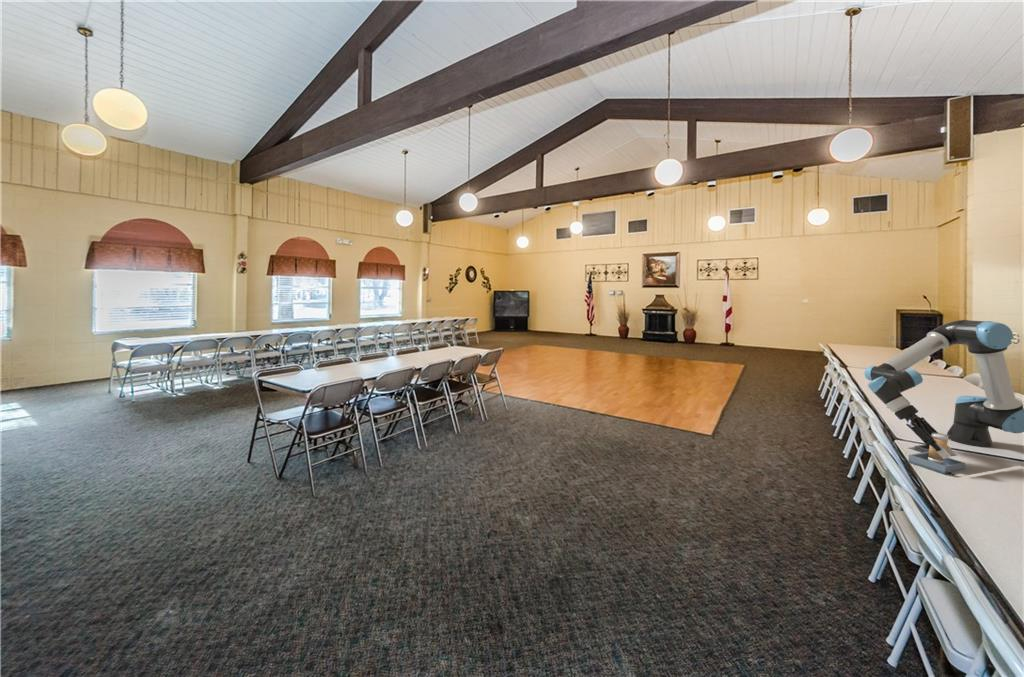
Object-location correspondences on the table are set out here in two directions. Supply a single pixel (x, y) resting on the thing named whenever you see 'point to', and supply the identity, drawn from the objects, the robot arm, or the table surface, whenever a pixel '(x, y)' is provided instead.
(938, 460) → the ball
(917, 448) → the block
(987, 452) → the table surface
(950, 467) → the parts tray
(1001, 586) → the table surface
